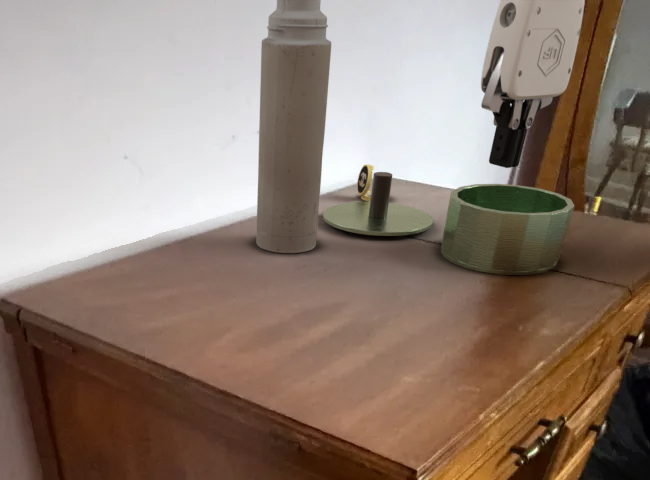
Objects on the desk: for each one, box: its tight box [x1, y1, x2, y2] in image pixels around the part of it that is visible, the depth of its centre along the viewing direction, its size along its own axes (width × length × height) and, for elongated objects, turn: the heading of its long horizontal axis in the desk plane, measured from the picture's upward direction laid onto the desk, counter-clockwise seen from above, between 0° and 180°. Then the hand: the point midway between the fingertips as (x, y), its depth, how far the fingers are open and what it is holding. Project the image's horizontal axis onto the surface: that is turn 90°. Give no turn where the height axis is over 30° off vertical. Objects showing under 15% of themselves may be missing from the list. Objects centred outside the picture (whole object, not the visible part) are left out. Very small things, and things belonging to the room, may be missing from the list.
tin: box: [440, 183, 575, 276], centre depth 91 cm, size 15×15×7 cm
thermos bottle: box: [255, 0, 332, 254], centre depth 87 cm, size 8×8×28 cm
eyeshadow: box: [356, 164, 375, 202], centre depth 113 cm, size 4×5×5 cm
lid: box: [322, 171, 434, 237], centre depth 102 cm, size 16×16×7 cm
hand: (503, 164), depth 85 cm, fingers closed
